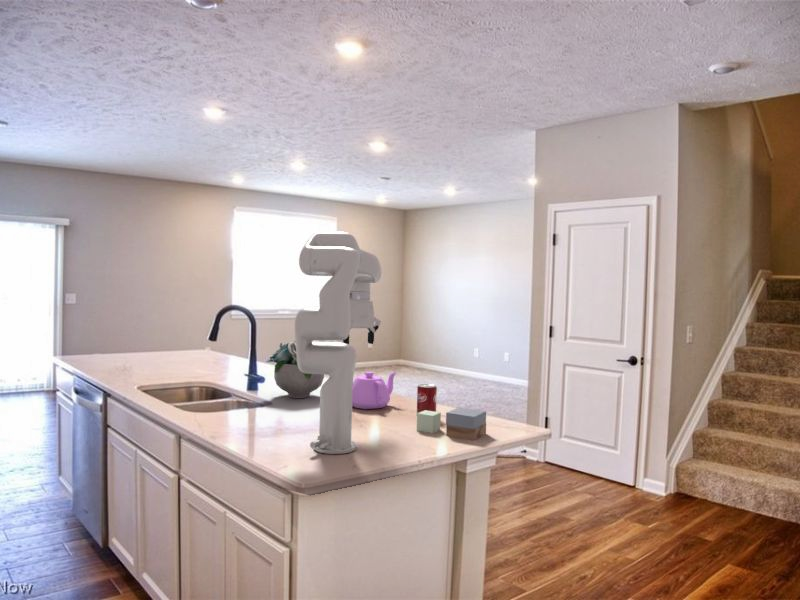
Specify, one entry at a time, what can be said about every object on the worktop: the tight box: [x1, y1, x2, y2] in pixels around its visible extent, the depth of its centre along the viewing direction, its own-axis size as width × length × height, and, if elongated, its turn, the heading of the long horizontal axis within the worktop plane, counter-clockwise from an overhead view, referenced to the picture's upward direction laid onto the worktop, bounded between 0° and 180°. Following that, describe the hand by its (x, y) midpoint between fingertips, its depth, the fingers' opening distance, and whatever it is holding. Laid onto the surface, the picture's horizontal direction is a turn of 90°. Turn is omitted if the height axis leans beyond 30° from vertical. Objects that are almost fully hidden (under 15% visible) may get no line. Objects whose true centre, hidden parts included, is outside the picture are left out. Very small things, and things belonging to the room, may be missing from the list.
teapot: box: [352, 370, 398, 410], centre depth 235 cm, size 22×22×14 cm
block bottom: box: [445, 422, 487, 441], centre depth 193 cm, size 10×10×4 cm
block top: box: [445, 407, 487, 429], centre depth 193 cm, size 10×10×4 cm
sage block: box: [416, 410, 442, 434], centre depth 198 cm, size 6×6×6 cm
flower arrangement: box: [266, 340, 325, 399], centre depth 249 cm, size 25×25×24 cm
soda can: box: [416, 383, 438, 414], centre depth 216 cm, size 7×7×12 cm
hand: (358, 343), depth 211 cm, fingers open, 9 cm apart
